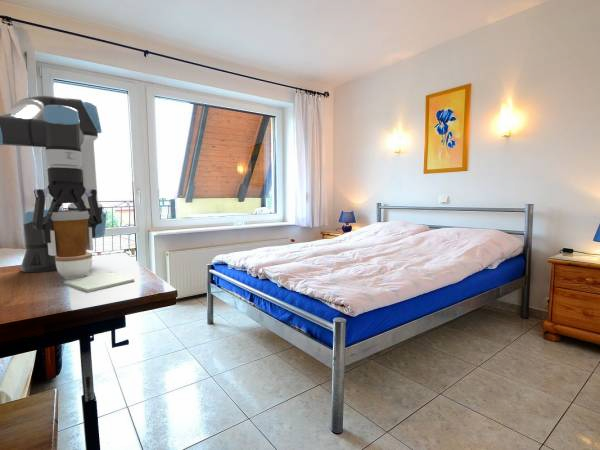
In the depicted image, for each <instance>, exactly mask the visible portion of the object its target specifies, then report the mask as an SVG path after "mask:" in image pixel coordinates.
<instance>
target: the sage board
mask: <svg viewBox="0 0 600 450" xmlns="http://www.w3.org/2000/svg"><path fill="white" fill-rule="evenodd" d="M132 281H133V282H135V278H133V277H129V276H125V275H120V274H118V273H112V272H104V273H99V274H95V275H89V276H85V277H82V278H77V279H68V280H66V281H65V280H64V281H63V284H64V285H66V286H68V287H69V286H70V287H72V288H75V289H78V290H82V291H83V292H87V293H90V292H94V291H95V292H96V291H99V290H103V289H108V288H111V287H116V286H120V285H124V284H127V283H133V282H132Z"/></svg>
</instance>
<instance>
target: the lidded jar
mask: <svg viewBox="0 0 600 450" xmlns="http://www.w3.org/2000/svg"><path fill="white" fill-rule="evenodd" d="M55 263H56V268H57V270H56V271H57V273H58V274H59V275H60V276H62V277H64V279H65V280H74V279H79V278H84V277H87V274H89V272H90V271H91V269H92V266H93V253H92V252H89V251H88V252H87V251H86V254H85V255H82V256H77V257H67V258H63V257H58V256H55Z"/></svg>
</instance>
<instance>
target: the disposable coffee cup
mask: <svg viewBox="0 0 600 450" xmlns="http://www.w3.org/2000/svg"><path fill="white" fill-rule="evenodd" d="M49 213H51V212H49ZM89 216H90V215H89V213H88V211H81V212H79V210H68V209H67V210H63V209H62V211H58V212H52V216H51V217H50V218H51V219H52V221H53V224H52V227H51V230H54V232H55V245H56V252H57V256H58V257H63V258H67V257H77V256H82V255H85V254H86V252H87V250H86V244H87V231H88V218H89Z"/></svg>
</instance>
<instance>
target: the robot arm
mask: <svg viewBox="0 0 600 450" xmlns="http://www.w3.org/2000/svg"><path fill="white" fill-rule="evenodd" d="M97 108H98V107H97V105H96V103H95V102H93V101H89V100H86V99H85V100H84V99H77V98H69V97H58V96H51V95H36V96H32V97H31V96H30V97H25V98H22V99H20V100H17V101H16V102H15V103H14V104H13V107H12V108H11V109H10V110H8V111H6V112H4V113H3V114H1V115H0V146H14V147H16V146H17V147H36V148H45V154H46V157H45V158H46V165H47V166H48V168H47V181H48V185H47V188H42V189H40V188H37V189H36V188H35V189H34V190H33V194H34V197H35V203H34V210H29V211H25V213H24V214H23V222H22V223H23V224H22V225H23V229H24V230H23V231H24V239H25V254H24V256H23V259H22V263H21V271H22V272H23V273H42V272H51V271H57V268H56V263H55V256H57V252H56V245H55V232H54V230H51V227H52V224H53V221H52V219H51V218H50V217H51V216H52V212H58V211H63V209H62V206H63V204H66V203H68V206H67V210H79V212H81V211H88V213H89V215H90V216H89V218H88V231H87V244H86V251H94V244H93V243H94V240H93V239H101V238H103V237H104V236H105V234H106V223H107V214H108V213H107V212H108V211H107V209H103V204H102V203H100V202H99V199H98V186H97V173H96V172H97V171H96V158H95V146H94V145H95V141H96V140H97V139H98V138H99V137H98V135H99V134H101V133H102V126H101V121H100V118H99V117H100V116H99V112H98V109H97ZM48 194H49V195H50V196H51V197H52V200H51V202H50V206H49V208H45V207H46V206H45V205H46V198H47V197H48ZM49 212H51V213H49Z"/></svg>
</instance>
